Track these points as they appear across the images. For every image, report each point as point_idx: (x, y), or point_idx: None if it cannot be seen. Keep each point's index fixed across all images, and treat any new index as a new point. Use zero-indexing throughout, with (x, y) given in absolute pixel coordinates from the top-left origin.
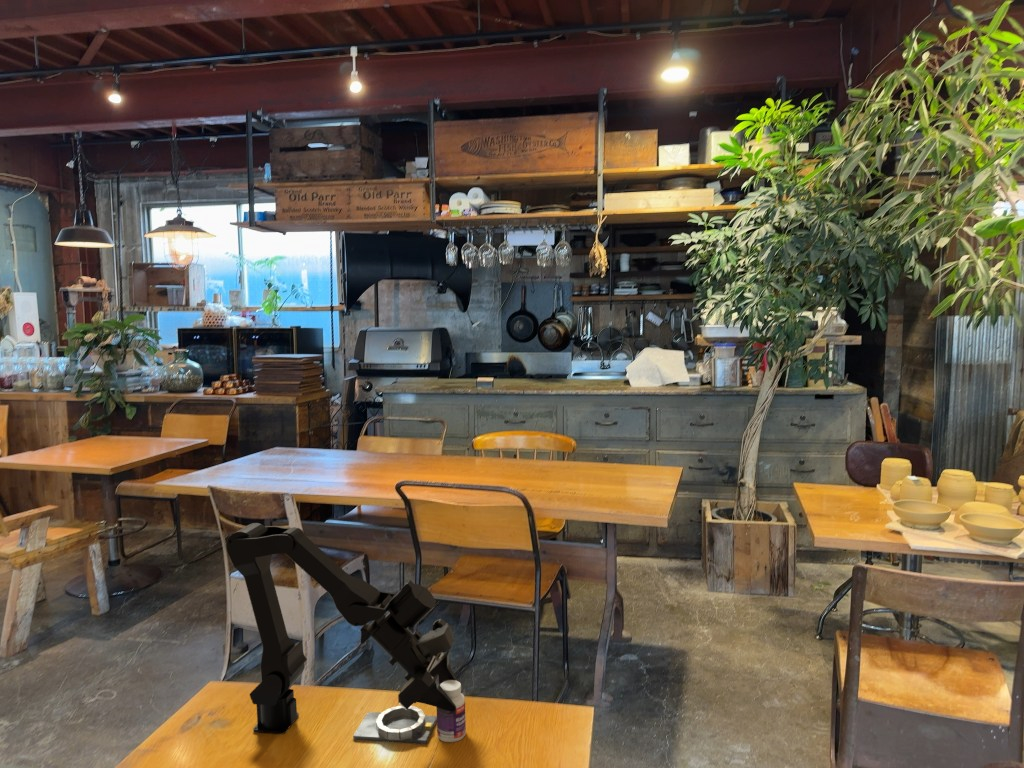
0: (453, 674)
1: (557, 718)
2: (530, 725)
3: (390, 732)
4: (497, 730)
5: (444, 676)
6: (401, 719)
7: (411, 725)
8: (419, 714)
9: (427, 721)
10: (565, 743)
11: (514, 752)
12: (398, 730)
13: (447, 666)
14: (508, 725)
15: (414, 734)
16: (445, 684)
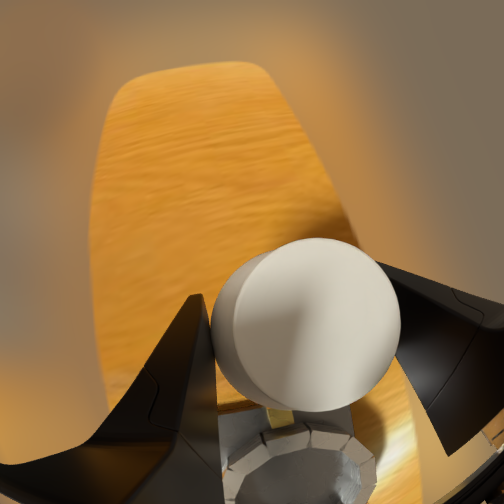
0: (152, 369)
1: (132, 107)
2: (165, 140)
3: (375, 476)
4: (204, 204)
5: (201, 436)
6: (262, 499)
7: (285, 464)
8: (260, 463)
9: (247, 432)
10: (219, 78)
11: (284, 143)
12: (365, 465)
13: (157, 446)
14: (173, 185)
15: (336, 428)
16: (328, 369)
